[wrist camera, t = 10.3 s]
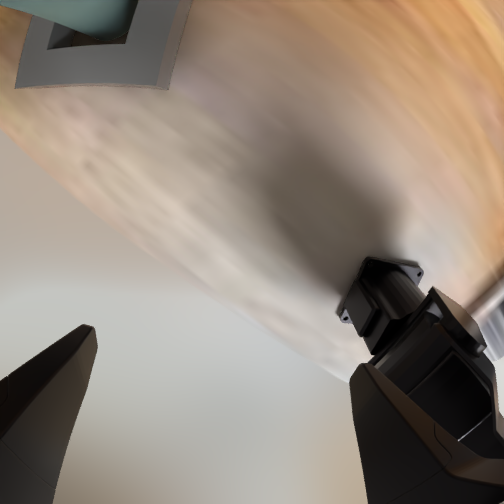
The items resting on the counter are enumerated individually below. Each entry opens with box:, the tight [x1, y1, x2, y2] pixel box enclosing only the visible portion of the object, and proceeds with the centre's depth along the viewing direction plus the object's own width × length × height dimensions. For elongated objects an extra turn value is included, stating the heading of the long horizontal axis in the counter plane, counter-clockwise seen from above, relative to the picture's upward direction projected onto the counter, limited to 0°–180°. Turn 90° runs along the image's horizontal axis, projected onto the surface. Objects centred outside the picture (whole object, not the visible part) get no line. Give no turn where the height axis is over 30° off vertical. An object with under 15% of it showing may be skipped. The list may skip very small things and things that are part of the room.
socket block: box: [15, 0, 193, 90], centre depth 12 cm, size 11×11×3 cm
